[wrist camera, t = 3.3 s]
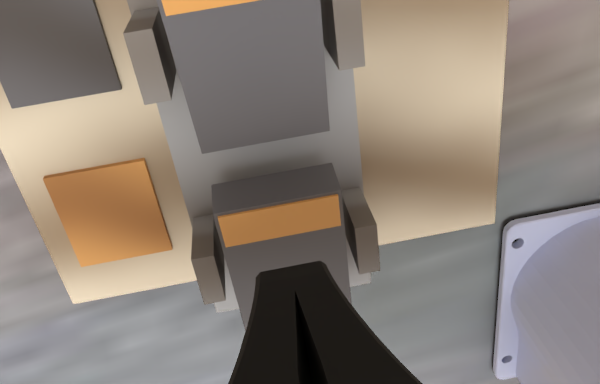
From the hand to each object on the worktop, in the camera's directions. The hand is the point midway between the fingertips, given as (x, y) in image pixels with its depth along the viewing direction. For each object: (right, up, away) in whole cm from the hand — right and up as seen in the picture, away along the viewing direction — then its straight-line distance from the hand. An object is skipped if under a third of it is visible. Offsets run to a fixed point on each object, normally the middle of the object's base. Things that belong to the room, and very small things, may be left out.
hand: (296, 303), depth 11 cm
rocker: (0, +1, +4) cm, 4 cm away
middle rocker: (-1, +6, +1) cm, 6 cm away
